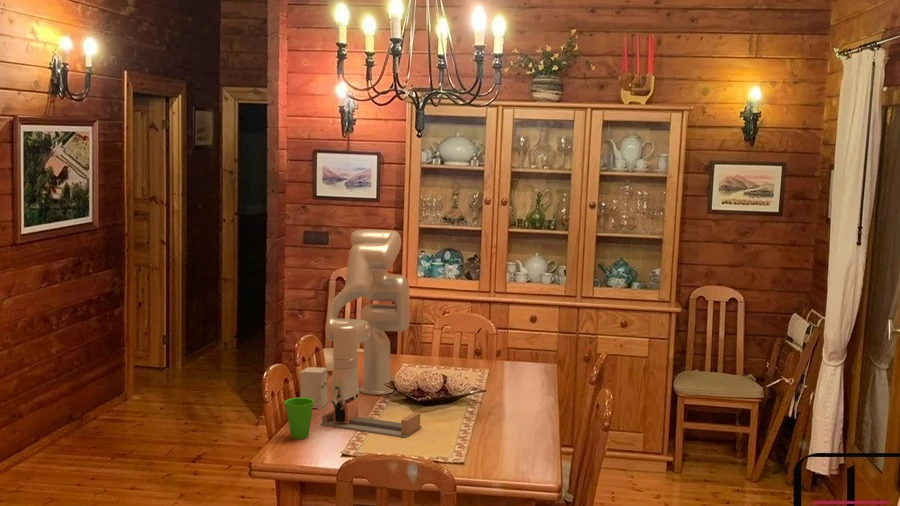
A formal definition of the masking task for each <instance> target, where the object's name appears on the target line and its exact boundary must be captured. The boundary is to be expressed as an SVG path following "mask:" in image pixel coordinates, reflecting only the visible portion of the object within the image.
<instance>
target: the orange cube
mask: <svg viewBox="0 0 900 506" xmlns="http://www.w3.org/2000/svg"><path fill="white" fill-rule="evenodd" d="M339 403H340V404H341V402H340V401H339ZM358 408H359V405H358V400H351V399H347V400H345V404H344V409H345V422H339V421H336V420H335V409H334V408H333V410H334V422H339V423H346V424H348V423H349V420H350V419H352V418H354V417H359V415H358V412H359V410H358Z"/></svg>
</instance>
